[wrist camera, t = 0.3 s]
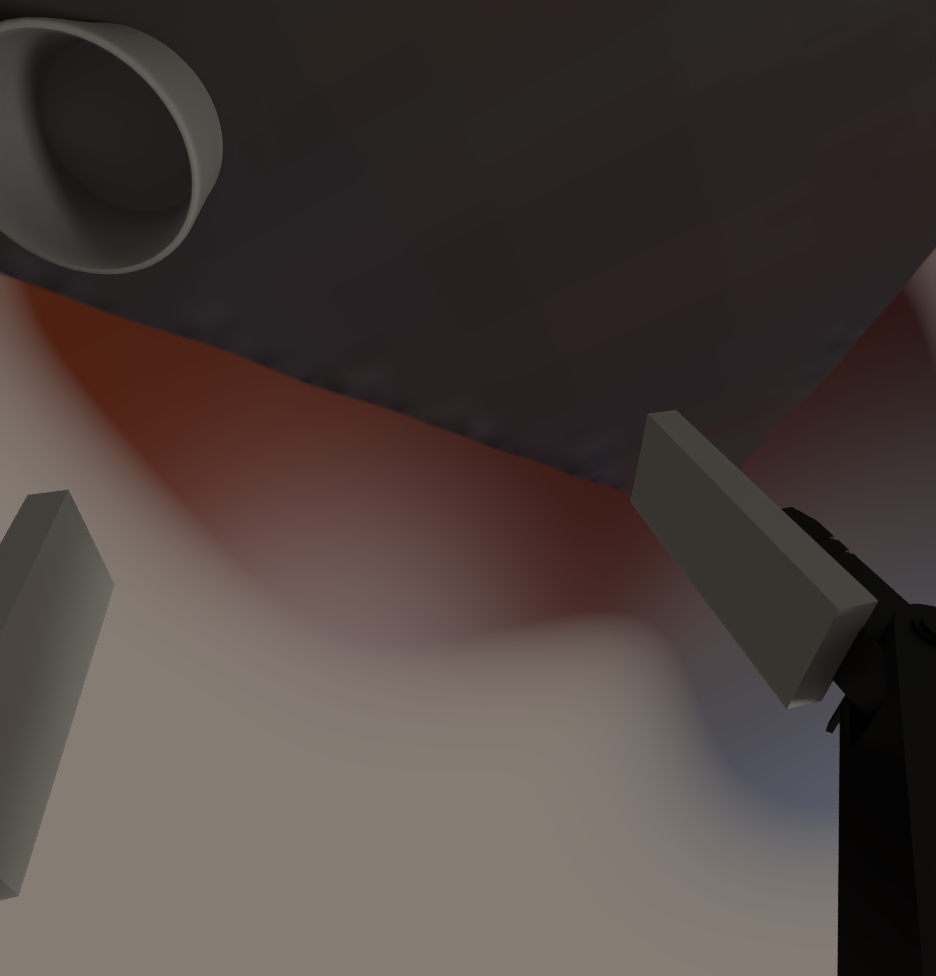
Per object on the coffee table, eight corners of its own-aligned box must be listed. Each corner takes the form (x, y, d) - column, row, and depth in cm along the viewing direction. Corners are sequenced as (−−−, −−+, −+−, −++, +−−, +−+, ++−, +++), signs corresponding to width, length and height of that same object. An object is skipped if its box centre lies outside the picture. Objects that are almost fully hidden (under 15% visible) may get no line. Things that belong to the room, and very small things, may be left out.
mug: (249, 99, 32) (237, 121, 23) (188, 247, 35) (157, 315, 26) (-30, -86, 26) (-188, -152, 17) (-73, 112, 29) (-224, 142, 20)
